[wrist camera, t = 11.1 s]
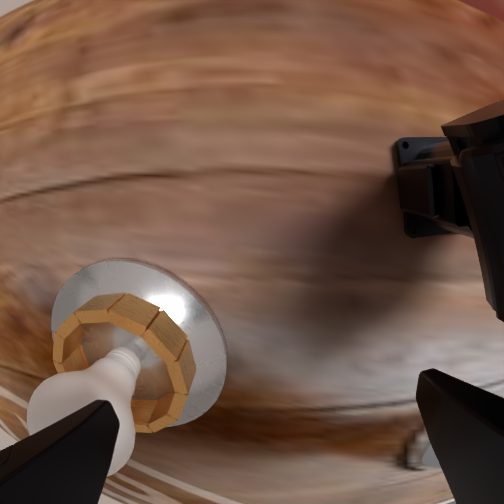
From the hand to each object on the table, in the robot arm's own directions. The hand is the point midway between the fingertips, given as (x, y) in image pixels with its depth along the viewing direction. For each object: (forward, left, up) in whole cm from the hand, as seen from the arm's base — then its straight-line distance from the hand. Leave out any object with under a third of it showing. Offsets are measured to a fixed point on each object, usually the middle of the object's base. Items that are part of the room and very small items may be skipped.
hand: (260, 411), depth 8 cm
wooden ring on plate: (+10, +5, -13) cm, 17 cm away
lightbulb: (+10, +5, -12) cm, 16 cm away
